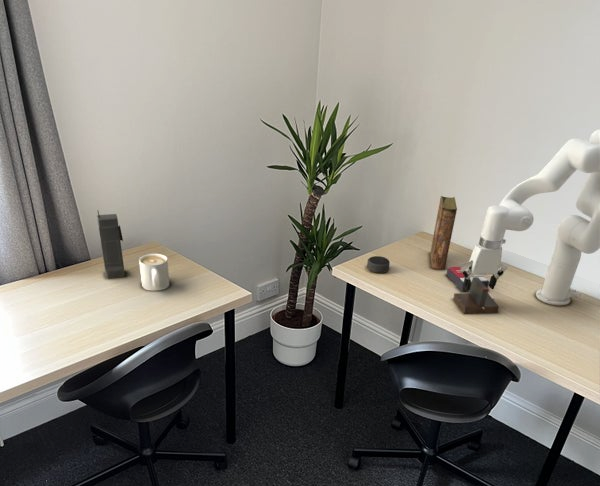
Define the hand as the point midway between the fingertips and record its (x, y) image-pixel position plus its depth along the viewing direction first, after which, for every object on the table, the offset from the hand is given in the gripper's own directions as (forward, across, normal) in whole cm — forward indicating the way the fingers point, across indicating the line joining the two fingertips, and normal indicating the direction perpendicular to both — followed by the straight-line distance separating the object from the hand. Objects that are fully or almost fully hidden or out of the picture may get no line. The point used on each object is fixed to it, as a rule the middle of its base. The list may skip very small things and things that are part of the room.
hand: (478, 287), depth 219 cm
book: (+7, 0, -39) cm, 40 cm away
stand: (+7, -1, 0) cm, 7 cm away
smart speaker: (+8, +28, -33) cm, 44 cm away
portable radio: (+10, +130, -34) cm, 135 cm away
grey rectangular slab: (+5, -1, 0) cm, 5 cm away
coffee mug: (+10, +116, -22) cm, 118 cm away
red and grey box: (+7, -5, -19) cm, 21 cm away
